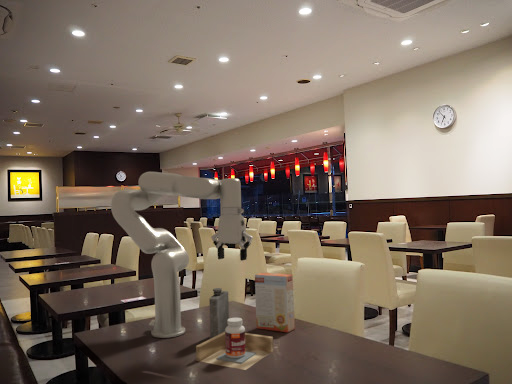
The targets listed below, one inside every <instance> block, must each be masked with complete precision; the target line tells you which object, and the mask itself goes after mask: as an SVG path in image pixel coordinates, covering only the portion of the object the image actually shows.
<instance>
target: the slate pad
mask: <svg viewBox="0 0 512 384" xmlns="http://www.w3.org/2000/svg"><path fill="white" fill-rule="evenodd" d="M254 355H256V353H254V352H248V351H245V355H244V356H243V357H240V358H230V357H227V356H226V353H224V354H222V355H221V356H219V357H217V358H216V359H217V360H223V361H228V362H234V363H239V364H242V363H244V362H245V361H247V360H248V359H250V358H251V357H253V356H254Z"/></svg>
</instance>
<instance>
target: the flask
mask: <svg viewBox="0 0 512 384" xmlns="http://www.w3.org/2000/svg"><path fill="white" fill-rule="evenodd" d="M212 291H213V295H211V296H210V297H209V302H208V303H209V328H210V329H209V331H210V334H209V335H210V336H209V337H210V339H211V338H213V337H215V336H217V335H219V334H221V333H223V332H225V329H226V327H227V326H228V323H227V320H228V319H230V307H229V306H230V305H229V303H230V302H229V301H230V299H229V291H228V290H223V288H222V287H221V288H220V287H218V288H217V287H216V288H212Z"/></svg>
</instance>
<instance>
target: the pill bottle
mask: <svg viewBox="0 0 512 384" xmlns="http://www.w3.org/2000/svg"><path fill="white" fill-rule="evenodd" d="M227 323H228V326H227V327H226V329H225V345H226V356H227V357H230V358H240V357H243V356H244V355H245V333H246V328H245V326H244V325H243V319H242V318H241V317H229V319H228V320H227Z"/></svg>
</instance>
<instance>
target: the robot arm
mask: <svg viewBox="0 0 512 384" xmlns="http://www.w3.org/2000/svg"><path fill="white" fill-rule="evenodd" d="M138 187H139V189H130V188H129V189H126V188H125V189H121V190H118V191H117V192H115V193H114V194H113V197H112V199H111V202H110V209H111V213H112V216H113V218H114V220H115V221H116V222H117V225H119V226H120V227H121V228H122V229H123V230H124V232H126V234H127V235H128V236H129V238H131V240H132V242H134V243H135V245H136V246H137V247H138V248H139V250H141V252H142V253H144V254H147V255H148V254H150V255H151V254H155V255H153V257H152V259H151V263H150V264H151V271H152V272H151V273H152V276H153V285H154V286H153V287H154V289H153V290H154V313H155V314H154V317H155V318H154V319H151V320H150V322H149V323H148V326H149V327H153V329H152V330H151V331H150V332H151V336H152V337H154V338H158V339H160V338H161V339H165V338H166V339H168V338H169V339H170V338H175V337H179V336H182V335H183V334H184V333H186V327H184V326H182V318H181V317H182V315H181V314H182V311H181V310H182V309H181V308H182V307H181V306H182V305H181V284H180V279H179V276H178V272H181V271H183V270H184V269H186V268H187V267H188V265H189V263H190V256H189V254H188V252H187V250H186V249H185V248H184V246H183V245H182V244H181V243H180V242H179V241H178V240H177V239H176V237H175V236H174V234H172V233H171V232H170V231H168V230H167V229H165V228H163V227H156V228H154V227H152V226H151V225H150V224H149V223H148V221H146V219H145V218H144V217H143V216H142V215H140V214H139V212H138V213H137V212H136V211H144V210H146V209H148V208H149V207H151V206H153V204H155V202H157V201H158V200H159V199H161V198H162V197H163V196H170V197H182V198H183V197H184V198H192V199H198V200H199V199H200V200H217V199H220V201H219V202H220V216H219V219H218V224H217V226H218V227H217V232H216V233H215V234H212V235H211V238H210V239H212V243H213V245H214V246H215V248H216V249H217V259H218V260H223V259H225V248H224V245H225V244H229V245H231V244H233V245H235V244H236V245H238V246H239V247H240V250H239V257H240V261H242V262H243V261H246V260H247V259H248V258H247V257H248V251H247V250H248V249H249V247H250V246H251V244H252V241H253V239H254V237H253V236H252V235H251V234H249V233H247V228H246V227H247V226H246V222H245V220H246V219H245V217H244V215H242V214H243V213H244V212H245V210H244V208H242V191H241V187H242V186H241V180H240V179H239V178H232V177H231V178H222V179H215V178H207V177H195V176H187V175H186V176H185V175H181V174H179V173H169V172H168V173H167V172H158V171H146V172H144V173H142V174H141V175H140V176H139V178H138Z"/></svg>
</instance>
